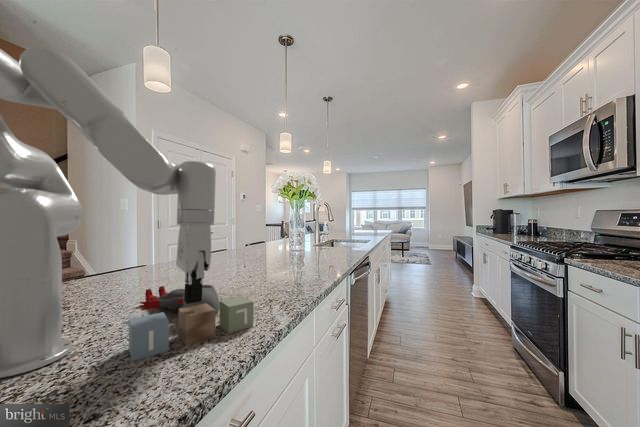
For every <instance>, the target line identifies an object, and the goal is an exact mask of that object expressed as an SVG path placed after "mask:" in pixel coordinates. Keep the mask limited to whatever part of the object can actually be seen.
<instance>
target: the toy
mask: <svg viewBox="0 0 640 427" xmlns="http://www.w3.org/2000/svg"><path fill="white" fill-rule="evenodd" d="M165 288H166V287H164V285H163V286H159V287H158V295H159V296H156V295H153V291H152V289H151V288H147V289H146V290H145V298H144V299H145V301H139V304H140V305H139V308H141V311H145V310H155V309H162V308H167V309H169V310H171V311H172V310H179V309H181V308H186V307H191V306H196V305H201V304H205V303H207V304H208V305H210V306H211V307H212V308H213V309H215V318H216V316H217V315H218V314H219V313H220V297H219V295H218V292H217V291H216V288H215V287H214V286H213V285H212V284H202V301H201V302H195V303H189V304H187V303H186V302H185V301H184V296H185V288H178V289H177V288H176V289H174V290H171V291H169V292H167V291H166V289H165Z"/></svg>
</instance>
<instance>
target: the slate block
mask: <svg viewBox="0 0 640 427" xmlns="http://www.w3.org/2000/svg"><path fill="white" fill-rule="evenodd" d="M128 351H129V354H130V355H129V356H130V360H131V361H137V360H140V359H144V358H147V357H151V356H154V355H157V354H162V353H165V352H168V351H170V320H169V318H168V317H167V316H166V313H165V312H164V311H163V312H157V313H152V314H148V315H141V316H137V317H133V318H129V319H128Z"/></svg>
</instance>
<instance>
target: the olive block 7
mask: <svg viewBox="0 0 640 427" xmlns="http://www.w3.org/2000/svg"><path fill="white" fill-rule="evenodd" d="M218 322H219V326H220V327H221V328H222V329H224V330H225V332H226V333H228V334H231V333H235V332H237V331H241V330H245V329H248V328H251V327H254V301H253V300H252V299H250V298H247V297H246V296H244V295H239V296H236V297H231V298H226V299H221V300H220V299H219V321H218Z"/></svg>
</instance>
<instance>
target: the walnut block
mask: <svg viewBox="0 0 640 427" xmlns="http://www.w3.org/2000/svg"><path fill="white" fill-rule="evenodd" d="M178 337H179V338H180V340H181V341H182V343H183V344H184V346H189V345H192V344H196V343H199V342H203V341H206V340H209V339H213V338H216V317H215V309H213V308H212V307H211V306H210V305H208V304H207V303H205V304H201V305H196V306H191V307H186V308H184V307H182V308H179V309H178Z"/></svg>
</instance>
